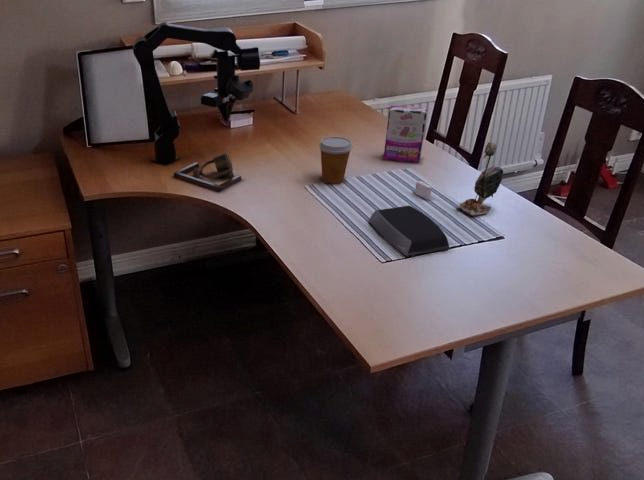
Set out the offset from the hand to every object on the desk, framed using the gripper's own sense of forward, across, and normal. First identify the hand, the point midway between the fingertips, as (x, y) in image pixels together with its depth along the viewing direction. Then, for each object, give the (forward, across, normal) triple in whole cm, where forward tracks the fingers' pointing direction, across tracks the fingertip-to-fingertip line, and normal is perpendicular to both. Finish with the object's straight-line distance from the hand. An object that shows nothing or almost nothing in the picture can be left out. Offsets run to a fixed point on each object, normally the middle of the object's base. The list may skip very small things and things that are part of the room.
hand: (226, 120), depth 203 cm
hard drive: (+12, -15, -71) cm, 74 cm away
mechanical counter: (+12, -15, -7) cm, 21 cm away
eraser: (+12, +9, -64) cm, 66 cm away
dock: (+12, -18, -7) cm, 23 cm away
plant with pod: (+12, +10, -79) cm, 81 cm away
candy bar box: (+12, +31, -47) cm, 58 cm away
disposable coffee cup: (+12, +4, -38) cm, 40 cm away
